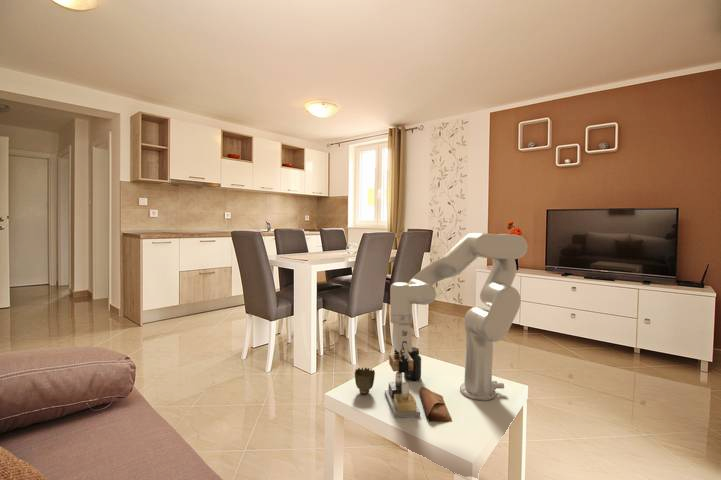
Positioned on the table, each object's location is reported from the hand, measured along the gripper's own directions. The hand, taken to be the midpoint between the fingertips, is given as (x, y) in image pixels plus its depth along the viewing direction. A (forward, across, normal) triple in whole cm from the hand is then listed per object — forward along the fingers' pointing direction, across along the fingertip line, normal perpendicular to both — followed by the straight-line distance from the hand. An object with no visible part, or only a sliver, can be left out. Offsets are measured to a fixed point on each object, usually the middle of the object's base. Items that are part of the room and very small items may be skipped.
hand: (400, 367), depth 126 cm
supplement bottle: (+12, +16, -9) cm, 22 cm away
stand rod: (+10, 0, +1) cm, 10 cm away
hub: (+10, -9, +1) cm, 13 cm away
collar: (0, 0, 0) cm, 0 cm away
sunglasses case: (+12, -7, -10) cm, 17 cm away
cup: (+11, +5, +12) cm, 17 cm away
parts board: (+11, -5, +1) cm, 12 cm away
